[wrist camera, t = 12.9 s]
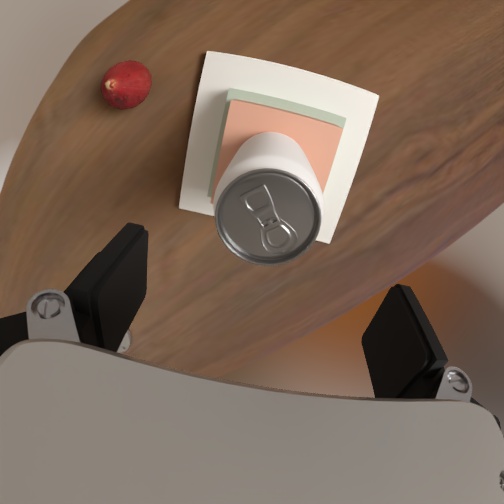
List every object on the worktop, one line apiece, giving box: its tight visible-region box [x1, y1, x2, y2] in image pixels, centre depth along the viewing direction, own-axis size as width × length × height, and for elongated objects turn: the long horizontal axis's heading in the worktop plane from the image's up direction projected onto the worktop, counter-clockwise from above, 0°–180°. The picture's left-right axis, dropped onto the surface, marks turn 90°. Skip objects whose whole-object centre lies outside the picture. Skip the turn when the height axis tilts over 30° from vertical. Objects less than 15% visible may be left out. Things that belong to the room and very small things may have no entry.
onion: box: [101, 60, 152, 109], centre depth 27 cm, size 6×6×8 cm
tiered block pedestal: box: [179, 51, 379, 244], centre depth 30 cm, size 20×20×9 cm
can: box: [213, 132, 324, 266], centre depth 21 cm, size 6×6×12 cm
